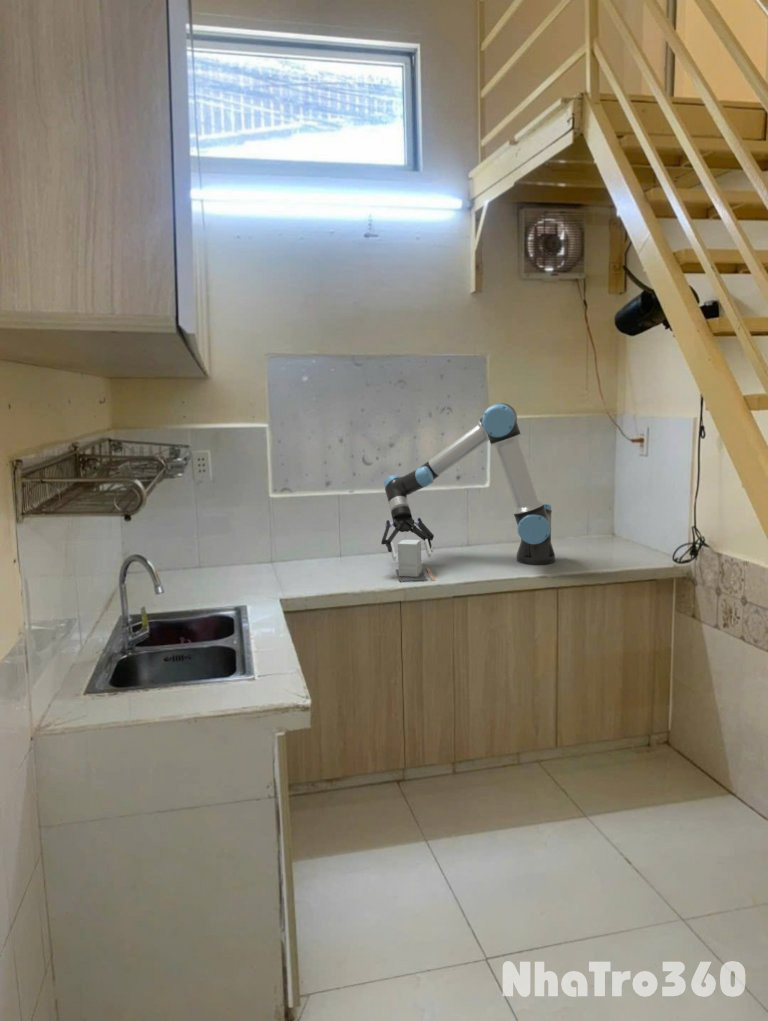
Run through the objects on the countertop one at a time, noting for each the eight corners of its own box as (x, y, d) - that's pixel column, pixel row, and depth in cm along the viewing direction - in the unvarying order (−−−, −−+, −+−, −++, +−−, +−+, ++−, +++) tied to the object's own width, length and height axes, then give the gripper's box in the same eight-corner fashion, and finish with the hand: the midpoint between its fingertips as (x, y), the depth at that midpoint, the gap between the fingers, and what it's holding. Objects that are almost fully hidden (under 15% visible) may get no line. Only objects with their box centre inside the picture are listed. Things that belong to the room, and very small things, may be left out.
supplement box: (422, 572, 261) (421, 539, 259) (417, 577, 254) (416, 544, 252) (403, 571, 263) (402, 538, 261) (398, 576, 256) (397, 543, 254)
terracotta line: (429, 569, 267) (429, 568, 267) (435, 580, 251) (435, 579, 251) (426, 569, 267) (426, 568, 267) (432, 580, 251) (432, 579, 251)
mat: (421, 569, 267) (421, 568, 266) (426, 580, 251) (426, 579, 251) (395, 570, 266) (395, 569, 266) (399, 582, 250) (399, 580, 250)
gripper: (429, 513, 272) (441, 559, 261) (367, 518, 266) (378, 565, 255) (433, 502, 266) (446, 548, 255) (370, 507, 260) (381, 554, 249)
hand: (412, 557), depth 255 cm, fingers open, 13 cm apart
